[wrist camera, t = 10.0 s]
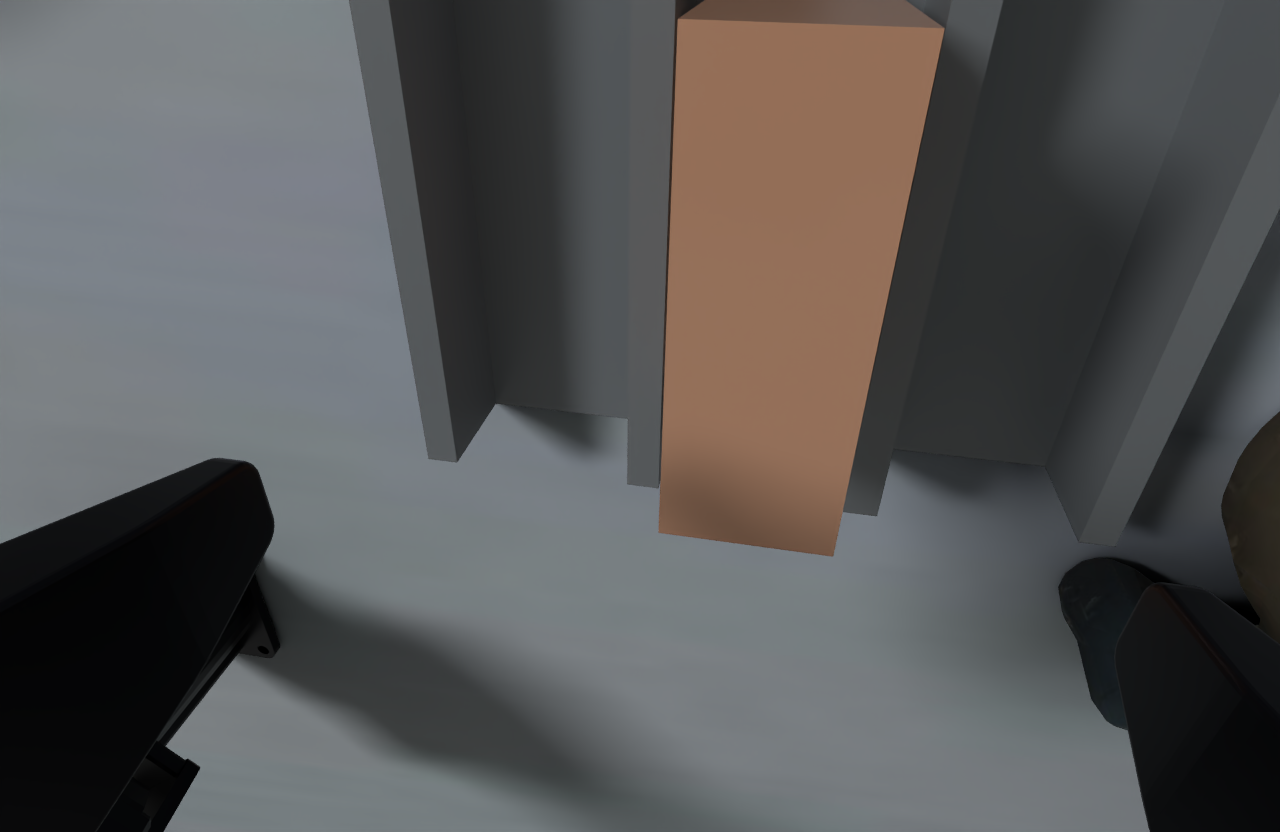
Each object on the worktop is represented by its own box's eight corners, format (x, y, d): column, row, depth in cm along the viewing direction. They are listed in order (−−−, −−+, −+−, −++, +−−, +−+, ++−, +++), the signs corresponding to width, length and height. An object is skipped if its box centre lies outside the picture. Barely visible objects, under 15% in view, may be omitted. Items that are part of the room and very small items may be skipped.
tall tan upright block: (824, 342, 19) (832, 556, 13) (708, 331, 20) (658, 532, 13) (884, -15, 15) (944, 27, 8) (733, -20, 15) (677, 19, 9)
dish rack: (1070, 457, 20) (1115, 546, 17) (477, 390, 23) (428, 458, 20) (1339, -206, 13) (1500, -246, 10) (406, -198, 15) (309, -229, 12)
